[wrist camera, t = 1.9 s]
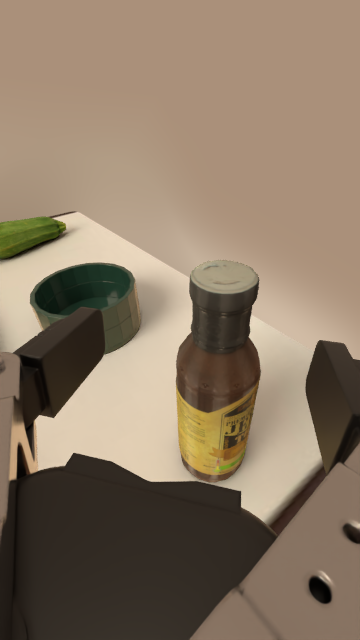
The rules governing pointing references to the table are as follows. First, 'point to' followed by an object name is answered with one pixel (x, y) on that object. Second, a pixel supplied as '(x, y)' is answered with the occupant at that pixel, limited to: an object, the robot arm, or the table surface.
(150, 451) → the table surface
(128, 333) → the pot
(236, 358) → the sauce bottle
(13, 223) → the vegetable
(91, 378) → the table surface
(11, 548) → the robot arm
